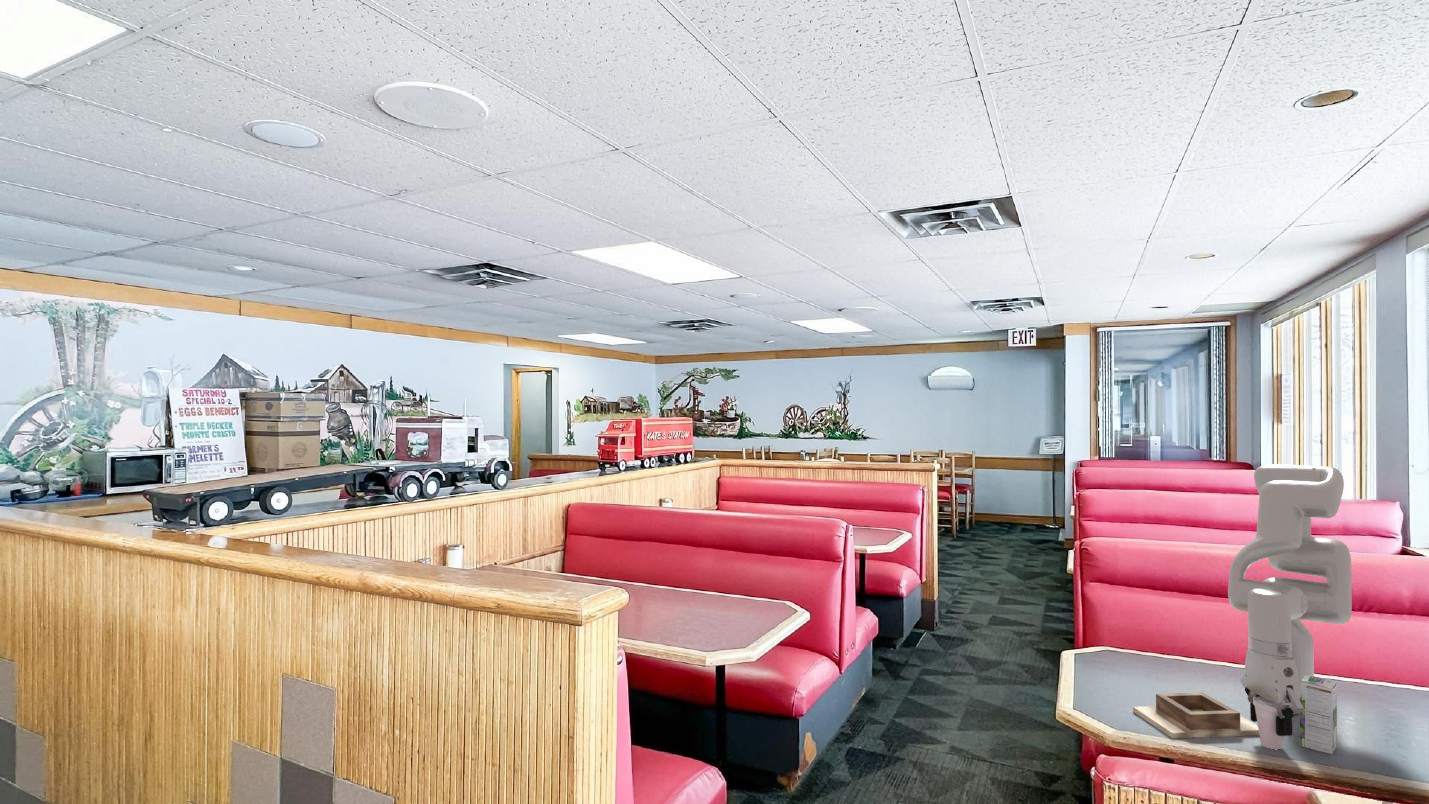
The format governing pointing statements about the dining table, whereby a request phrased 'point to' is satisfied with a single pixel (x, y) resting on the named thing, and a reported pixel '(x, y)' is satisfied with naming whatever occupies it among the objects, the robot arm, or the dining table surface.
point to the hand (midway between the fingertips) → (1270, 727)
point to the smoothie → (1267, 722)
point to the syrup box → (1318, 714)
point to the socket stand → (1195, 717)
